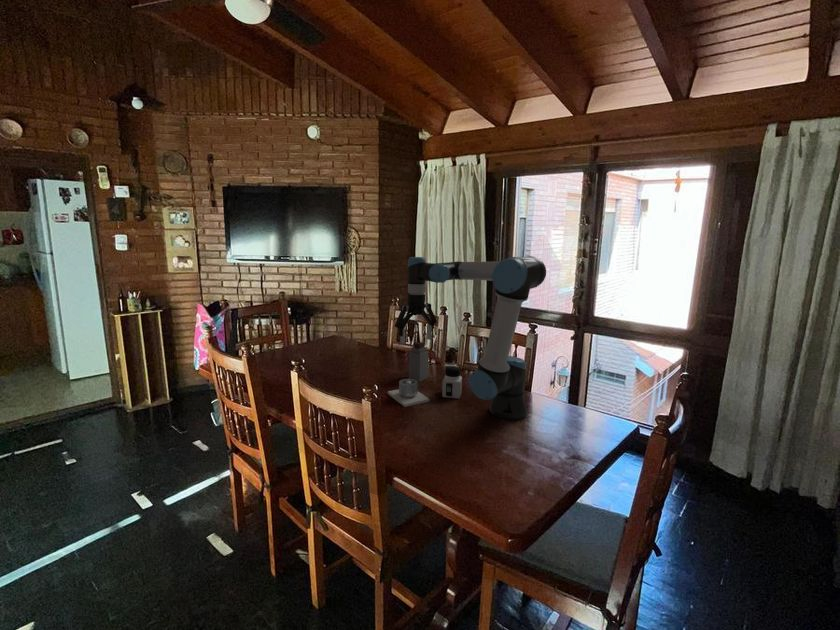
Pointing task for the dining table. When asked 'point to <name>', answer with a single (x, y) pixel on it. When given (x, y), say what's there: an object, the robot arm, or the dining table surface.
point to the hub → (408, 387)
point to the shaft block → (408, 397)
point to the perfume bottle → (418, 362)
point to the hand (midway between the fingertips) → (416, 341)
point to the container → (452, 382)
